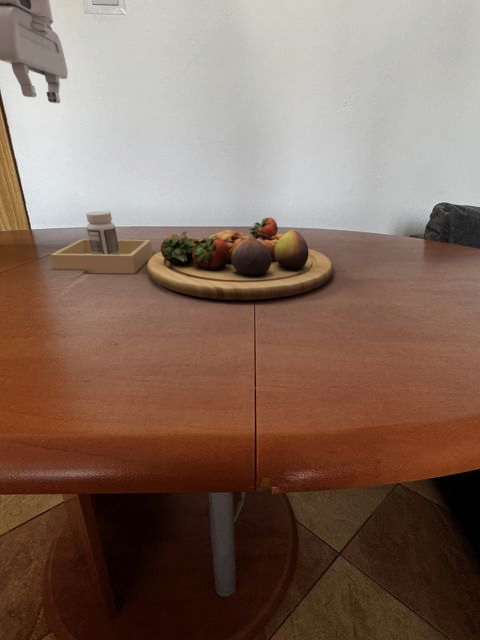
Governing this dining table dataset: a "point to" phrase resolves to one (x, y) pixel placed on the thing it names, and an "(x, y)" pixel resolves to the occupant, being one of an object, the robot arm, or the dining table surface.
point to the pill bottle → (102, 233)
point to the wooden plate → (240, 264)
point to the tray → (103, 257)
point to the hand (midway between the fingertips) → (43, 100)
